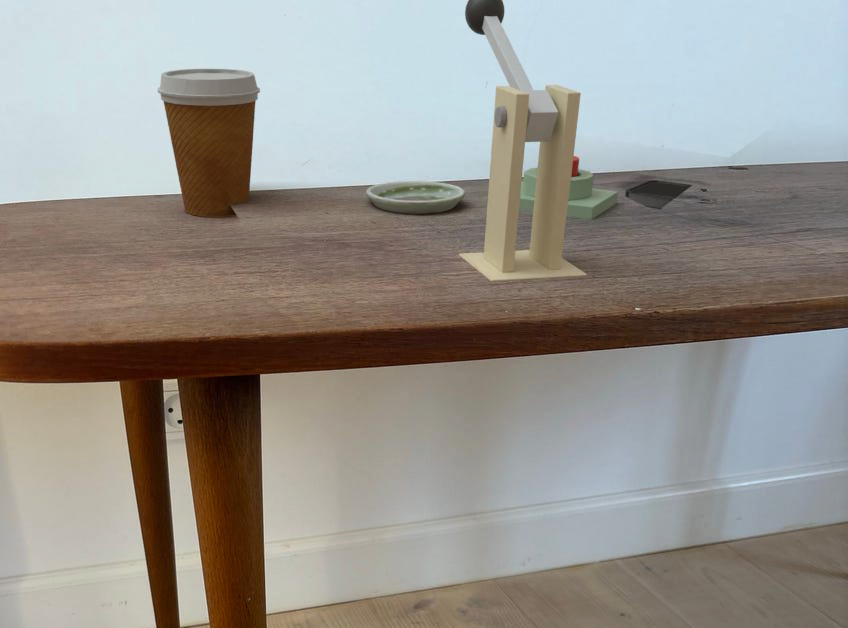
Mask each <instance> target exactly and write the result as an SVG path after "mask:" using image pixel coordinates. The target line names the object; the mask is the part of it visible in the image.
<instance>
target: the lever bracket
mask: <svg viewBox="0 0 848 628" xmlns="http://www.w3.org/2000/svg"><path fill="white" fill-rule="evenodd" d="M544 90H547V91H548V93H549V94H550V96H551V98H552V100H553V102H554V104H555V106H556V108H557V110H558V115H557V119H556V122H555V126H554V129H553V133H552V136H551V140H550V141H547V142H539V148H538V149H539V150H538V159H537V168H538V169H537V179H536V190H535V200H534V210H533V212H532V220H531V221H532V223H531V232H530V242H529V249H522V250H521V249H520V250H516V249H517V236H518V225H519V214H520V210H519V204H520V193H521V182H522V181H523V172H524V170H523V169H524V157H525V148H526V142H525V137H526V126H527V115H528V104H529V94H528V93H525V92H523V91H520V90H517V89H515V88H512V87H510V85H497V86H495V98H494V110H493V124H492V137H491V151H490V166H489V177H488V179H489V180H488V191H487V192H488V193H487V205H486V206H487V207H486V217H485V218H486V221H485V234H484V246H483V247H484V249H483V252H465V253H459V254H458V256H459V257H460V258H462V259H463V260H464V261H466V262H467V263H468V264H469V265H470V266H472V267H473V268H474V269H476V270H477V271H478V272H479V273H480V274H481V275H482V276H484V278H486V279H487V280H488V281H490V282H491V283H493V282H510V281H512V282H513V281H526V280H542V279H543V280H544V279H561V278H577V277H588V274H587V273H586V272H584V271H583V270H581V269H579V268H578V267H576V266H575V265H574V264H572V263H570V262H569V261H568V260H566V259H565V258H563V254H564V253H563V251H564V243H565V235H566V226H567V219H568V216H567V209H568V200H569V191H570V183H571V174H572V165H573V156H575V146H576V145H575V144H576V138H577V128H578V120H579V112H580V105H581V104H580V103H581V93H582V92H579V91H577V90H573V89H571V88H567V87H564V86H561V85H558V84H545V88H544Z"/></svg>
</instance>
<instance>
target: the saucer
mask: <svg viewBox="0 0 848 628" xmlns="http://www.w3.org/2000/svg"><path fill="white" fill-rule="evenodd" d="M365 196H366V198H368V199H369V200H370V201H371V202H372V204H373V205H374V206H375V207H376V208H378V209H379V210H383V211H387V212H393V213H398V214H399V213H400V214H412V215H413V214H414V215H421V214H422V215H423V214H425V215H426V214H437V213H442V212H448V211H450V210H452V209H454V208H455V207H456V206H457V205H458V204H459V203H460V201H462V200H463V199H464V198H465V197H466V191H465V189H463V188H462V187H460V186H457V185H454V184H451V183H446V182H439V181H427V180H424V181H423V180H402V181H401V180H400V181H390V182H384V183H378V184H375V185H372V186H369V187H368V188H367V189H366V190H365ZM400 198H401V199H400ZM402 198H422V199H426V200H405V199H404V200H403V199H402ZM427 199H430V200H427Z"/></svg>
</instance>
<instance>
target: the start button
mask: <svg viewBox="0 0 848 628" xmlns="http://www.w3.org/2000/svg"><path fill="white" fill-rule="evenodd" d="M579 165H580V157H578V156H576V155H574V156H573V165H572V174H571V177H577V175H578V169H579Z"/></svg>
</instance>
